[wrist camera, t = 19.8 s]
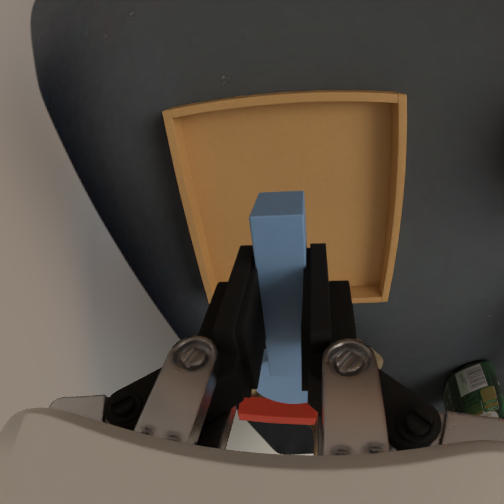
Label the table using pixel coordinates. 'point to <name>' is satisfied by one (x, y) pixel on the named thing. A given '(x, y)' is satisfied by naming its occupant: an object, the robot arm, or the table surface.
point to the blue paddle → (280, 290)
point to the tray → (296, 176)
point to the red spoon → (276, 411)
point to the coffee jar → (474, 391)
